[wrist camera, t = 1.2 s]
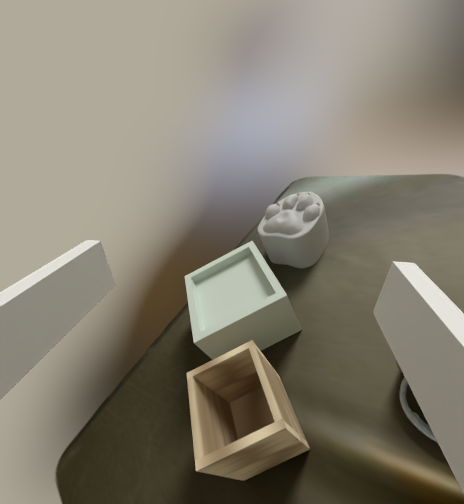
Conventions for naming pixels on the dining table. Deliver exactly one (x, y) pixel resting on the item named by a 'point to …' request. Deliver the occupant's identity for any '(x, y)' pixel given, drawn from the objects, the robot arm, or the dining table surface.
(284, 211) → the lumpy-topped squat cylinder
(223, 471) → the birch crate
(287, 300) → the pale green square box
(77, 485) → the dining table surface
